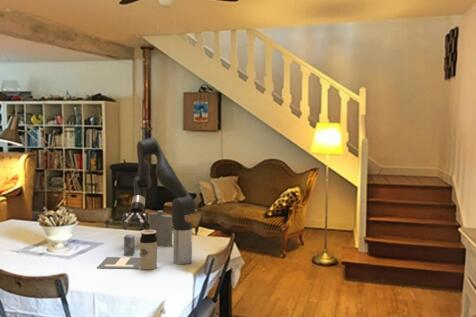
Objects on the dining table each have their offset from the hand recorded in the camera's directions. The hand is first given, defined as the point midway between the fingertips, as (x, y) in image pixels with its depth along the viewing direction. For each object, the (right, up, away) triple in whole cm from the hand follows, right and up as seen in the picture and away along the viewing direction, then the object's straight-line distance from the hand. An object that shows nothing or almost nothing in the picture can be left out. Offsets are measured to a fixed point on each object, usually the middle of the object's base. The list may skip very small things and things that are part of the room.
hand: (133, 229), depth 238 cm
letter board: (0, -13, -22) cm, 26 cm away
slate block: (0, -12, -7) cm, 14 cm away
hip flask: (+13, -11, +13) cm, 21 cm away
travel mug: (+14, -14, -28) cm, 34 cm away
